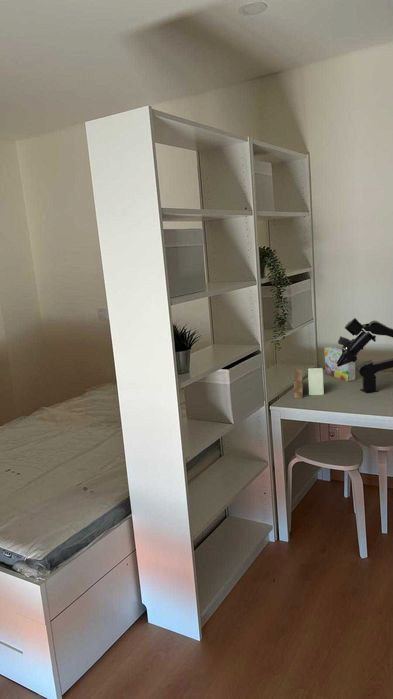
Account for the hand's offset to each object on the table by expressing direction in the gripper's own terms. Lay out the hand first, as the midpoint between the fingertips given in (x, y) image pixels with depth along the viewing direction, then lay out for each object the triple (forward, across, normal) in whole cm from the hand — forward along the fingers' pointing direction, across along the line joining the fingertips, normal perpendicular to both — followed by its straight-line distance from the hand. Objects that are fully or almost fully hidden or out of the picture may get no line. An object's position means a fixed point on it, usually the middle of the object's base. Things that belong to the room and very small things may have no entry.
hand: (337, 364), depth 263 cm
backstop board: (+23, 0, -4) cm, 23 cm away
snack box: (+8, -27, +12) cm, 31 cm away
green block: (+17, 0, +2) cm, 17 cm away
